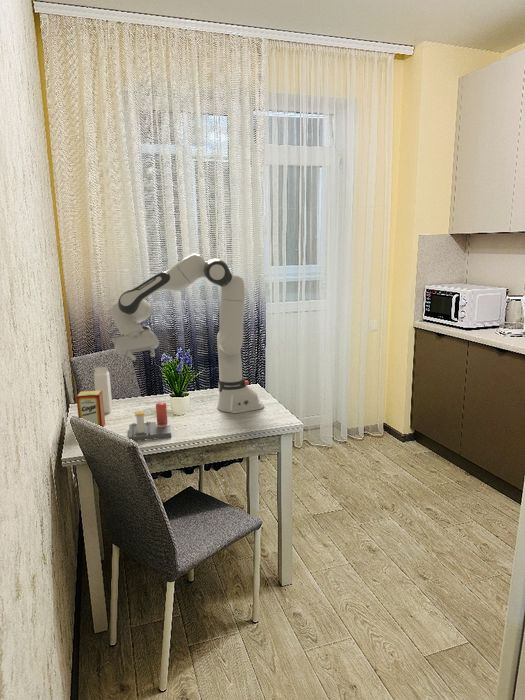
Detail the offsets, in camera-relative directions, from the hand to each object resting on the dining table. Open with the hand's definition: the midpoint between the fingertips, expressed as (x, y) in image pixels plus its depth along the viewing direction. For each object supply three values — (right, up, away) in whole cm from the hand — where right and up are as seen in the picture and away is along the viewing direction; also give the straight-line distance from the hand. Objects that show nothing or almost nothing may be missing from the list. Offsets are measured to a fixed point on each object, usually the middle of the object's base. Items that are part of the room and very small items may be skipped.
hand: (144, 357), depth 220 cm
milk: (-24, -26, +19) cm, 40 cm away
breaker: (+2, -31, -15) cm, 35 cm away
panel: (+5, -32, -9) cm, 33 cm away
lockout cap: (+9, -29, -5) cm, 30 cm away
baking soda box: (-23, -31, 0) cm, 38 cm away
